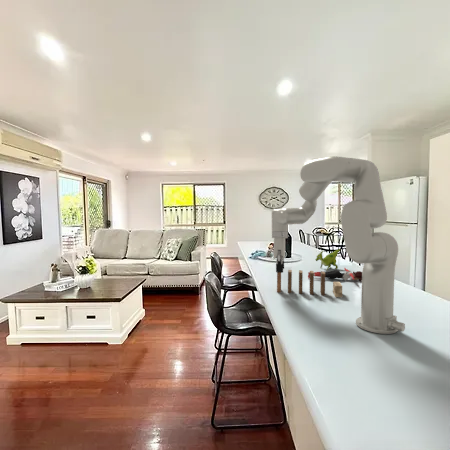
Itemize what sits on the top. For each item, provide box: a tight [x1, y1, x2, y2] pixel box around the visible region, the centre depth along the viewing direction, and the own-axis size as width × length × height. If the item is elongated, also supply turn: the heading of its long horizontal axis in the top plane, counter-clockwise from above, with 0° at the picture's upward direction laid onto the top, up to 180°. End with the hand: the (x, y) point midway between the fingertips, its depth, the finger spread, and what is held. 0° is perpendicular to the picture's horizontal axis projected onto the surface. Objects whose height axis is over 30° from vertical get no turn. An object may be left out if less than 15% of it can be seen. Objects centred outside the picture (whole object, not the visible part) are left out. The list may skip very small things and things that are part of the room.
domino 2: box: [287, 269, 293, 294], centre depth 140 cm, size 2×5×10 cm, turn 166°
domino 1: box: [276, 272, 282, 293], centre depth 141 cm, size 2×5×10 cm, turn 166°
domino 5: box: [320, 271, 326, 296], centre depth 136 cm, size 2×5×10 cm, turn 166°
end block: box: [332, 281, 343, 298], centre depth 134 cm, size 3×8×5 cm, turn 166°
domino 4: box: [309, 270, 315, 296], centre depth 137 cm, size 2×5×10 cm, turn 166°
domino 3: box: [298, 270, 304, 295], centre depth 138 cm, size 2×5×10 cm, turn 166°
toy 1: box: [315, 248, 341, 271], centre depth 193 cm, size 8×21×15 cm, turn 115°
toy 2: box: [307, 267, 362, 282], centre depth 164 cm, size 28×6×30 cm
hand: (280, 270), depth 140 cm, fingers open, 9 cm apart
